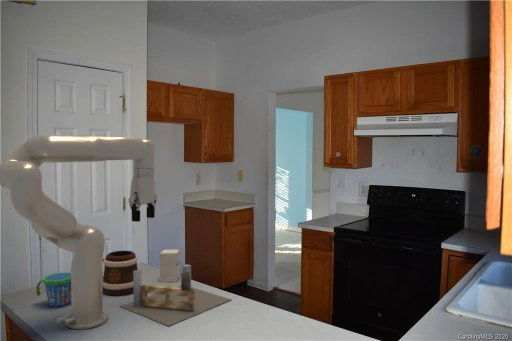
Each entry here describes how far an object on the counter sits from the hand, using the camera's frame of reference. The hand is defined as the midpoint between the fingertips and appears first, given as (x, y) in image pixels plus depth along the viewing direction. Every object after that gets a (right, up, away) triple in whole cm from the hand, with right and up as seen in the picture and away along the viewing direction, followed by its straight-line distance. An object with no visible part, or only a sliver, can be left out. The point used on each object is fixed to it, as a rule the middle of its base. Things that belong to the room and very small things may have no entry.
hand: (143, 219), depth 148 cm
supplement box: (+4, -30, +28) cm, 41 cm away
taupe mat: (+12, -31, 0) cm, 33 cm away
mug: (-15, -31, +15) cm, 38 cm away
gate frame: (+6, -31, +5) cm, 32 cm away
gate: (+10, -30, -6) cm, 33 cm away
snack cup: (-31, -31, -1) cm, 44 cm away
